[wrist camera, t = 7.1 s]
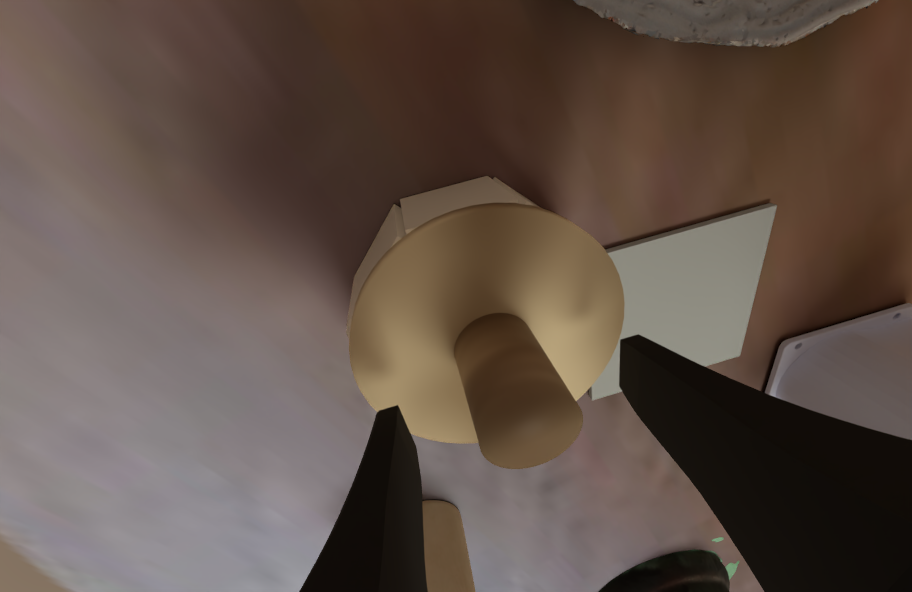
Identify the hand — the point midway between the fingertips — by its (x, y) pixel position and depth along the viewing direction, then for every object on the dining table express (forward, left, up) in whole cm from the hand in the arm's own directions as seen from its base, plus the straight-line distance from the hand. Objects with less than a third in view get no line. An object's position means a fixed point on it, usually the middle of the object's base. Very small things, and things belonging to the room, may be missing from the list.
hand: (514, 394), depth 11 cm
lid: (0, 0, -3) cm, 3 cm away
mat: (-11, +5, -7) cm, 14 cm away
